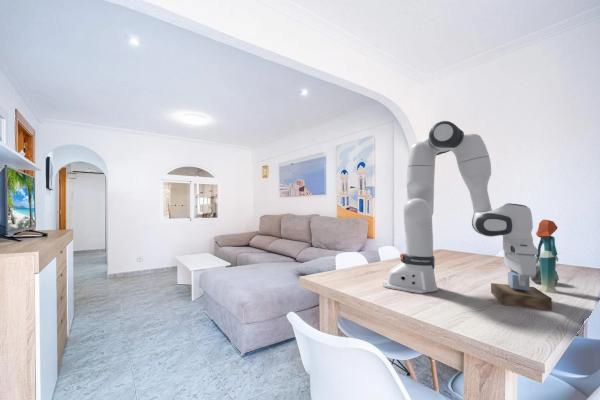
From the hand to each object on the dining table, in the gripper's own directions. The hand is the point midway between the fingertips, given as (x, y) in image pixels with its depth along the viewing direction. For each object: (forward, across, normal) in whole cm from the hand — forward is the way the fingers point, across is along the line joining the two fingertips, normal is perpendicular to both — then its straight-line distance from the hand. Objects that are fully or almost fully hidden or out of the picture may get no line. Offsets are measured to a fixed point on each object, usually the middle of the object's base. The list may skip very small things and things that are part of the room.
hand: (518, 283), depth 100 cm
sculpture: (+7, -20, +16) cm, 27 cm away
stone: (+7, -34, +20) cm, 40 cm away
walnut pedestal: (+7, 0, 0) cm, 7 cm away
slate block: (+2, 0, 0) cm, 2 cm away
